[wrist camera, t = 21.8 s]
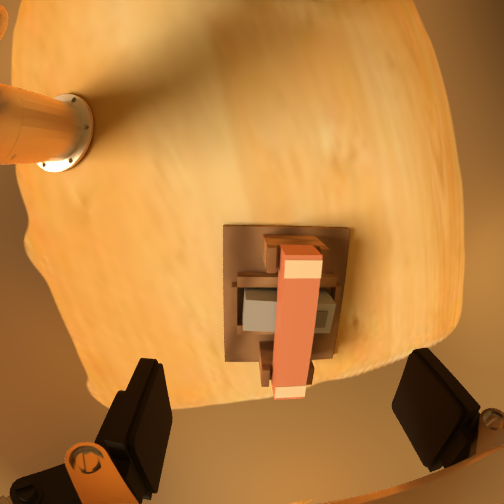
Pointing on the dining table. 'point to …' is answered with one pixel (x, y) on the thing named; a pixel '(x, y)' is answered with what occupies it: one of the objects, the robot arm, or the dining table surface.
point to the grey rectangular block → (264, 310)
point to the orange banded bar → (295, 318)
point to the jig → (276, 285)
